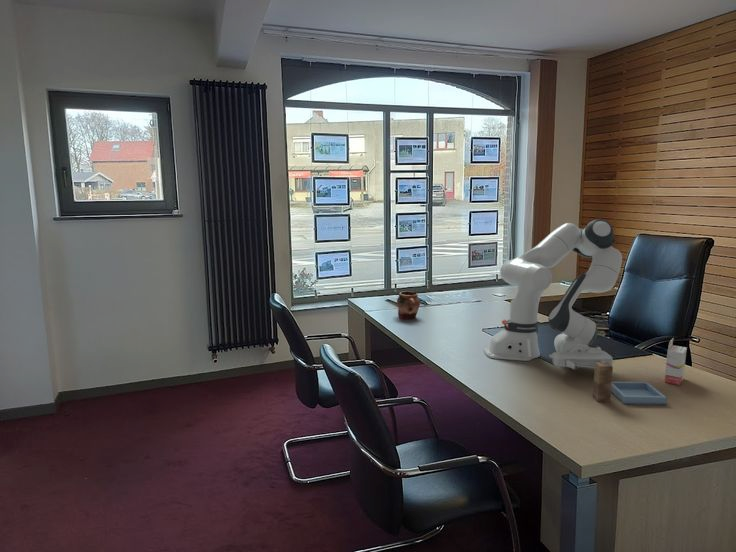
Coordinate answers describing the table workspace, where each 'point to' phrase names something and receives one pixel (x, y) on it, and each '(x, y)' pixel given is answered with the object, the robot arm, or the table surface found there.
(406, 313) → the decorative planter
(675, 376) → the ink cartridge box
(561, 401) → the table surface
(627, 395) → the slate tray
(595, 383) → the walnut block
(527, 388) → the table surface
